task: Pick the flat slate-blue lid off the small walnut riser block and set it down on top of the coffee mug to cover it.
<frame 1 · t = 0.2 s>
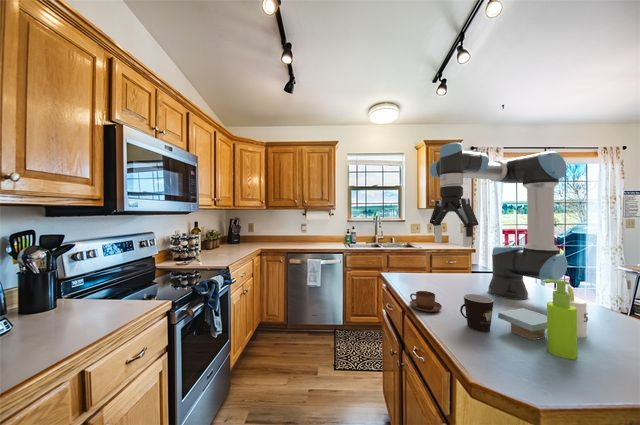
hand: (451, 244, 90), 28 cm above the counter, tool pointing down, fingers open, 13 cm apart
white bottle: (573, 333, 79), on the counter
cup and saucer: (425, 309, 100), on the counter
riser: (527, 334, 78), on the counter
lid: (527, 321, 78), point 4 cm above the counter, touching riser
soap dispenser: (559, 353, 68), on the counter
coffee mug: (473, 328, 83), on the counter
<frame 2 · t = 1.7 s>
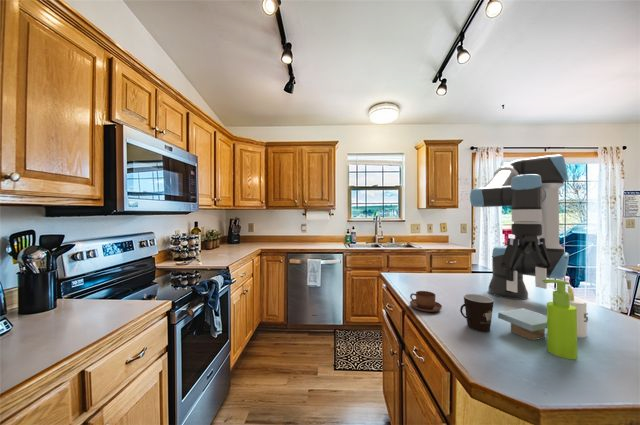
hand: (526, 289, 78), 14 cm above the counter, tool pointing down, fingers open, 13 cm apart
nothing on the counter moved.
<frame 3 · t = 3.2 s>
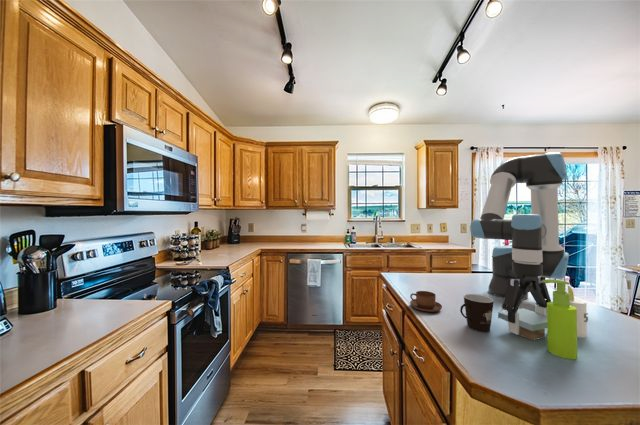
hand: (527, 329, 78), 1 cm above the counter, tool pointing down, fingers closed on lid, 12 cm apart
lid: (527, 321, 78), point 4 cm above the counter, touching gripper, riser
everything else where it was.
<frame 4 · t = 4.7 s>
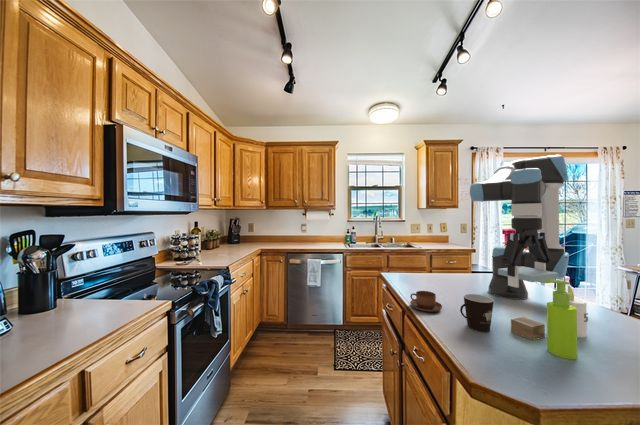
hand: (527, 284, 79), 16 cm above the counter, tool pointing down, fingers closed on lid, 12 cm apart
lid: (526, 276, 79), point 18 cm above the counter, touching gripper
everything else where it was.
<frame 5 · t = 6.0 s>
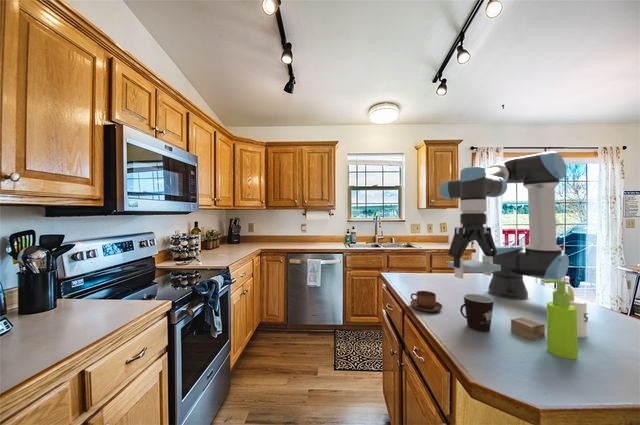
hand: (473, 276, 83), 17 cm above the counter, tool pointing down, fingers closed on lid, 12 cm apart
lid: (473, 268, 83), point 20 cm above the counter, touching gripper
everything else where it was.
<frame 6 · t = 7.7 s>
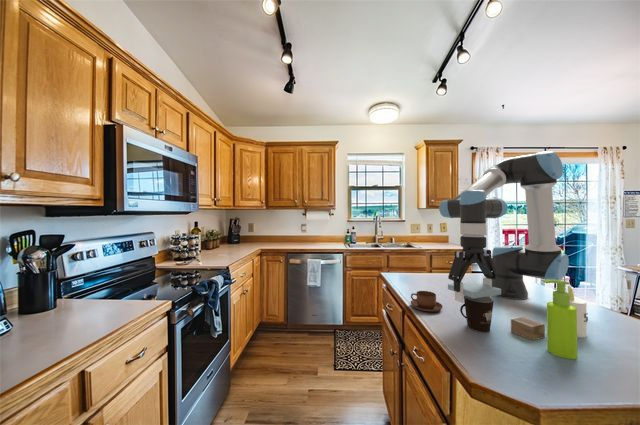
hand: (473, 299, 83), 10 cm above the counter, tool pointing down, fingers closed on lid, 12 cm apart
lid: (473, 291, 83), point 12 cm above the counter, touching gripper
everything else where it was.
when the fingers open (10 cm above the counter, at t = 7.7 s): lid drops 2 cm, resting on coffee mug.
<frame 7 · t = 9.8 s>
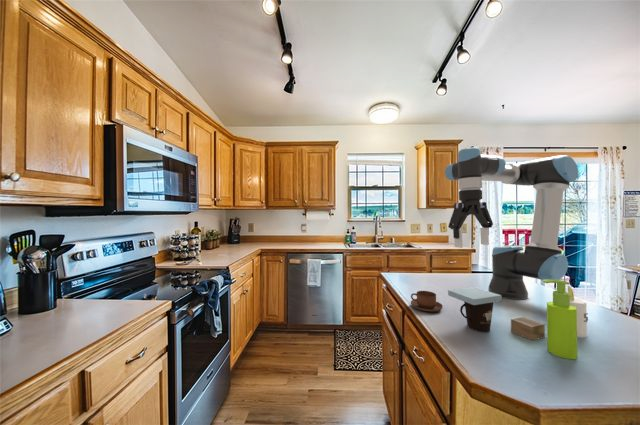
hand: (472, 246, 92), 27 cm above the counter, tool pointing down, fingers open, 13 cm apart
lid: (473, 297, 83), point 10 cm above the counter, touching coffee mug
coffee mug: (473, 328, 83), on the counter, touching lid
everything else where it was.
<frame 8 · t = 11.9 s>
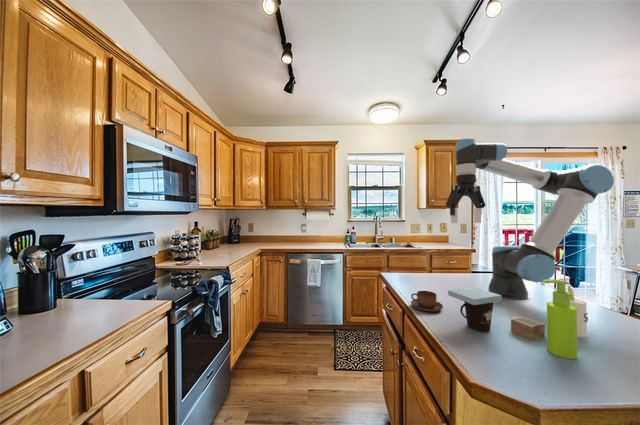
hand: (466, 223, 107), 35 cm above the counter, tool pointing down, fingers open, 13 cm apart
nothing on the counter moved.
at the end: lid inside the target area on the coffee mug (0.1 cm from its centre), point 10.2 cm above the coffee mug's base; lid tilted 0°; coffee mug tilted 0° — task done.
